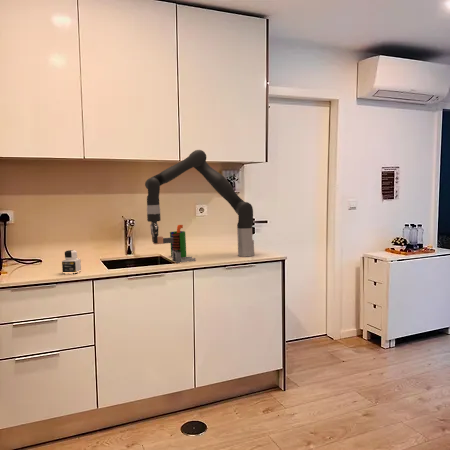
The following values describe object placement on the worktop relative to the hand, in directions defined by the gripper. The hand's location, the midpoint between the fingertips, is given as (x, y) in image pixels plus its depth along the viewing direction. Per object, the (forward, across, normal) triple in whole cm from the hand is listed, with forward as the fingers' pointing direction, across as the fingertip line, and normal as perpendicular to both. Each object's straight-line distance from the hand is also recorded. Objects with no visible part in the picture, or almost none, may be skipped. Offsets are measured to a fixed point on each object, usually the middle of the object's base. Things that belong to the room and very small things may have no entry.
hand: (155, 242), depth 240 cm
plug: (+1, 0, +5) cm, 5 cm away
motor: (+12, -17, +18) cm, 27 cm away
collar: (+12, 0, +17) cm, 21 cm away
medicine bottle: (+12, +8, -46) cm, 48 cm away
